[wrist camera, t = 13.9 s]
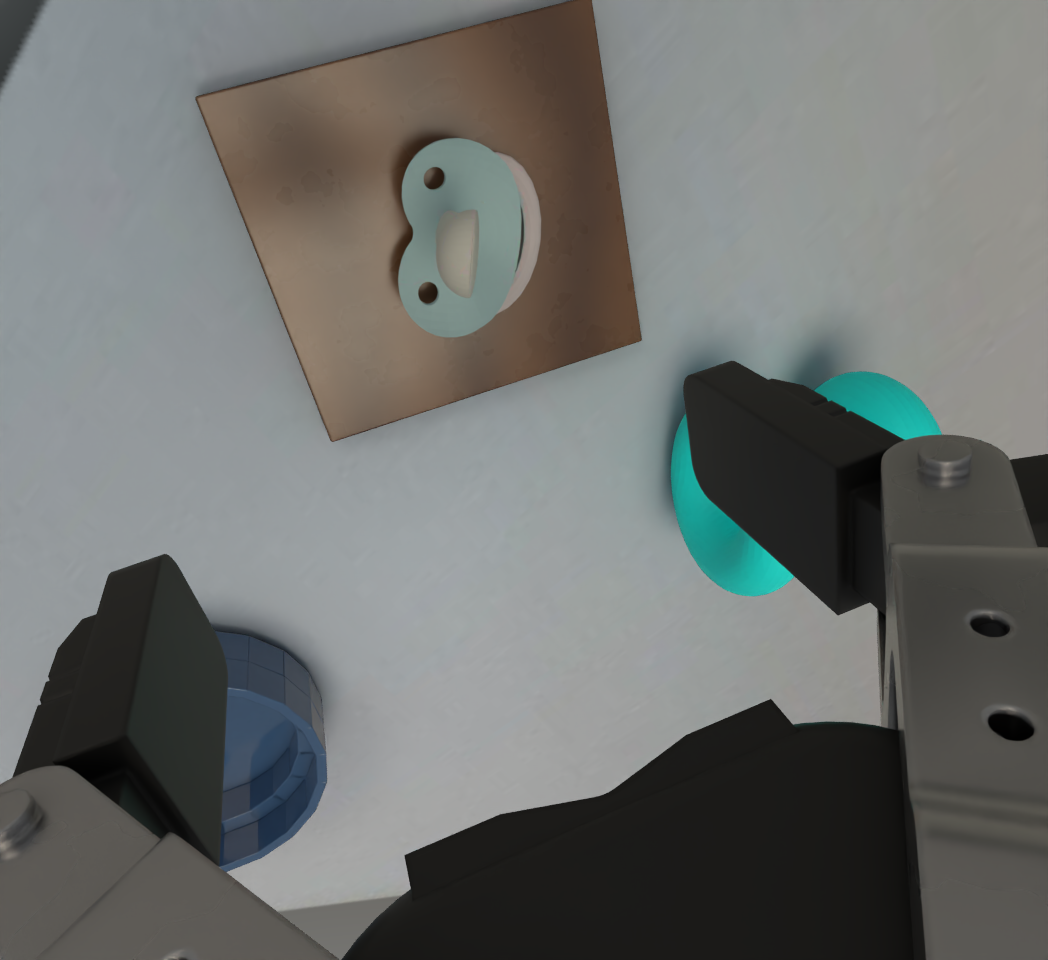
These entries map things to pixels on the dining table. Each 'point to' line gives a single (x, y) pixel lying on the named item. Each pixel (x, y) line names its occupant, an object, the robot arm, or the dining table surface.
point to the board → (376, 188)
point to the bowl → (268, 750)
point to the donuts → (731, 548)
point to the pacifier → (467, 236)
